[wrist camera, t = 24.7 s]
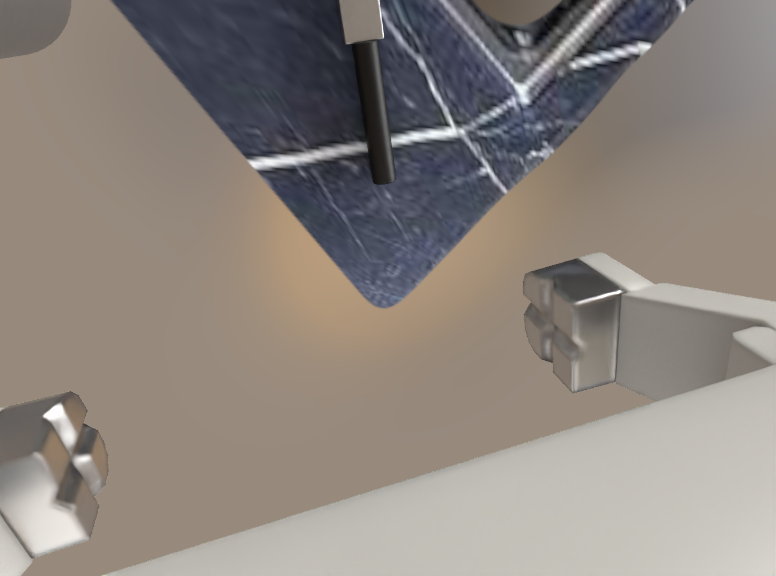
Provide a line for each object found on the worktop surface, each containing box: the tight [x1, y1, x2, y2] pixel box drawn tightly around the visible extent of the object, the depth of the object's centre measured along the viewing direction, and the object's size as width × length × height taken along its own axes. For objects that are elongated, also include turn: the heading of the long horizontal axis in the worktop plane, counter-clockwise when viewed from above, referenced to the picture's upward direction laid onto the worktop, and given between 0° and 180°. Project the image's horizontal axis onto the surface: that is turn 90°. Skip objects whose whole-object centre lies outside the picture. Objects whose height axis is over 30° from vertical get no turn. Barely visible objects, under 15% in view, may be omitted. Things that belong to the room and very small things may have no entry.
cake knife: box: [336, 0, 396, 185], centre depth 41 cm, size 25×3×2 cm, turn 8°
